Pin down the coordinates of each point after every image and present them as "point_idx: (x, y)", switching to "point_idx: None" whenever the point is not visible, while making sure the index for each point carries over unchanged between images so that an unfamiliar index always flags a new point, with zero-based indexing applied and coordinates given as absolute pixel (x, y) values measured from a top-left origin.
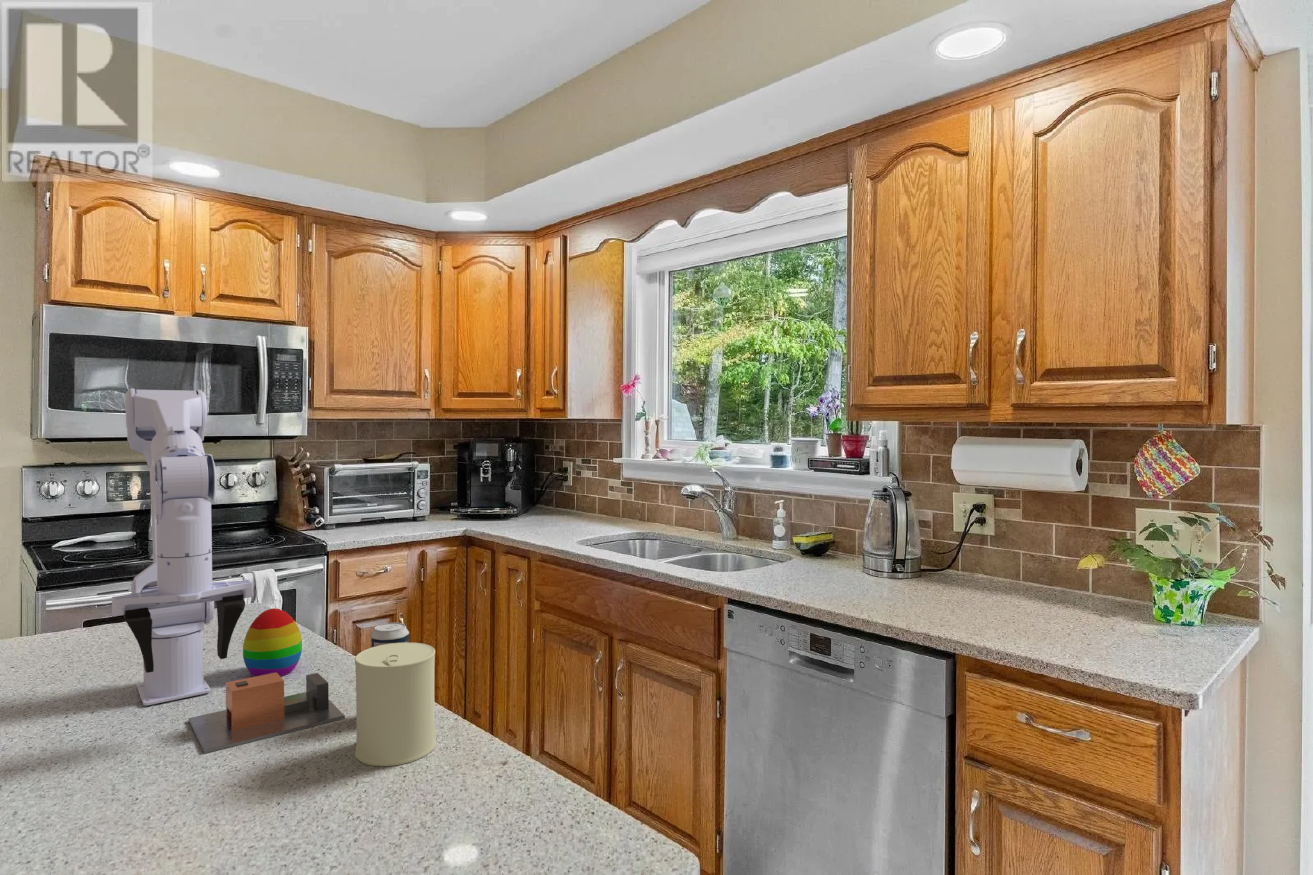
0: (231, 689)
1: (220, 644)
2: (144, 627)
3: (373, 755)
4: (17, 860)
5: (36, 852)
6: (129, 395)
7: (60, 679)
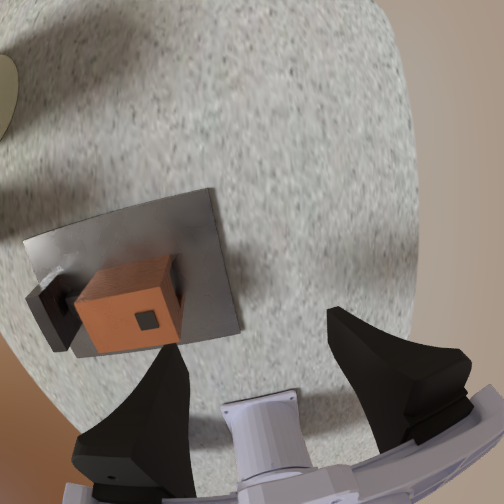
0: (162, 298)
1: (174, 374)
2: (416, 363)
3: (2, 58)
4: (382, 10)
5: (371, 13)
6: None
7: (353, 449)
